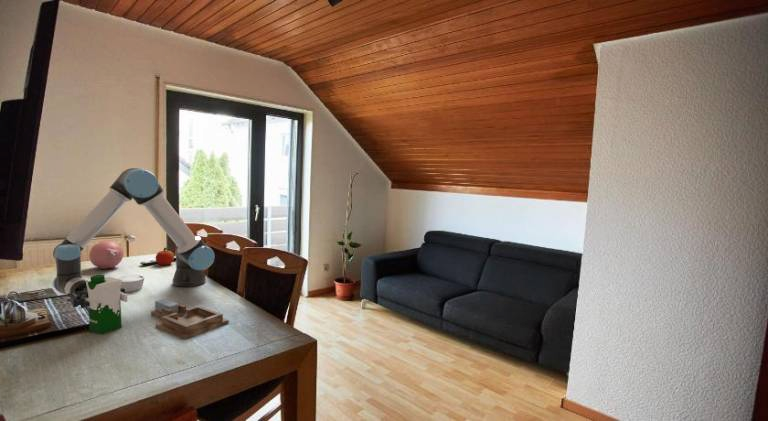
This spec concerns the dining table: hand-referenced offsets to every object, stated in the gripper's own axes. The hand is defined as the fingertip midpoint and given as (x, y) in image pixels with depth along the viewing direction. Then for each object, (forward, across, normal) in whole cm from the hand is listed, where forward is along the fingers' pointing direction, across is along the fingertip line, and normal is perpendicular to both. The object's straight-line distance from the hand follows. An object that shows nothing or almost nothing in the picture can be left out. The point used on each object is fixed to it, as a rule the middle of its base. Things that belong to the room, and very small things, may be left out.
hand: (111, 301), depth 136 cm
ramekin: (-44, -28, -12) cm, 53 cm away
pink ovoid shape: (-87, -38, -11) cm, 95 cm away
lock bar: (-1, -20, -10) cm, 22 cm away
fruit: (-74, -62, -11) cm, 97 cm away
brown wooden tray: (+10, -20, -11) cm, 25 cm away
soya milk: (-5, 0, -11) cm, 12 cm away
